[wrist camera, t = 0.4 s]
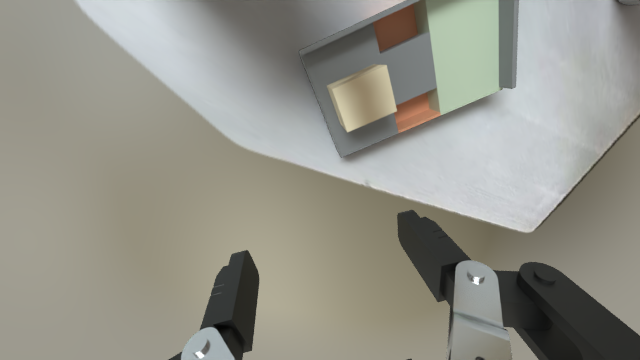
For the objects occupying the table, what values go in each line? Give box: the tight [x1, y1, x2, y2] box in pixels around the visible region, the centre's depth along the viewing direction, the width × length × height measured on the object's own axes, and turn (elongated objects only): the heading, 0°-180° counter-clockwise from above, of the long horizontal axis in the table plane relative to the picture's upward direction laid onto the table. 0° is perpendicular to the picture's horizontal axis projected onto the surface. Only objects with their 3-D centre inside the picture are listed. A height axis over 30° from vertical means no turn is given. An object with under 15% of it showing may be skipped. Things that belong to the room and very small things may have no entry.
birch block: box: [327, 64, 397, 132], centre depth 26 cm, size 6×5×4 cm
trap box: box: [299, 0, 519, 158], centre depth 28 cm, size 23×14×5 cm, turn 112°
